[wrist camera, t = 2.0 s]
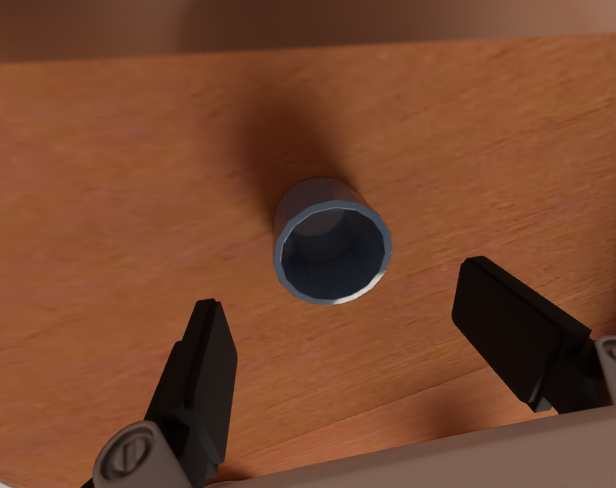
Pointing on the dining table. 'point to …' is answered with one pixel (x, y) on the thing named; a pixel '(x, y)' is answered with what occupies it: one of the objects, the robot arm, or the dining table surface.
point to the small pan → (220, 484)
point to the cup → (328, 242)
